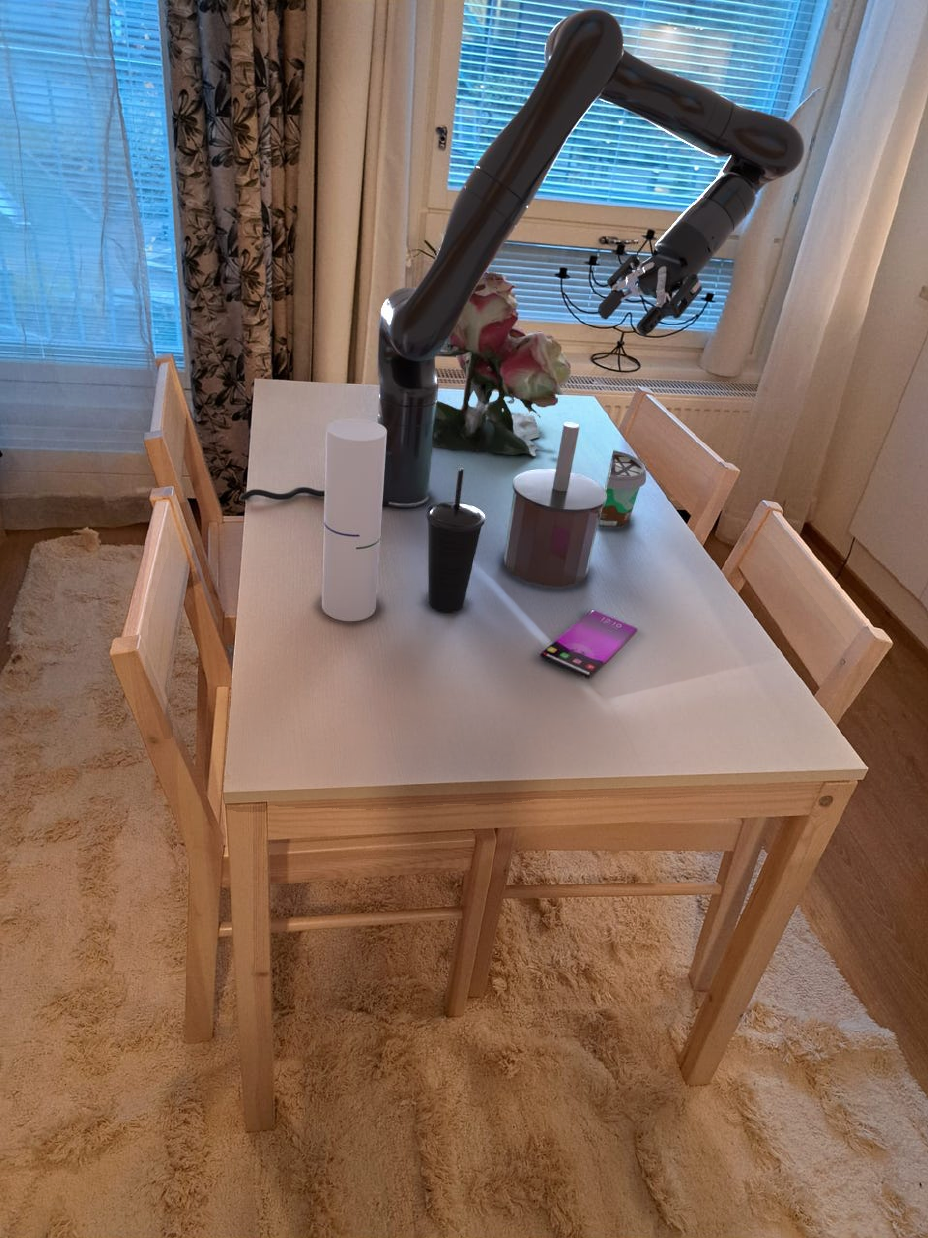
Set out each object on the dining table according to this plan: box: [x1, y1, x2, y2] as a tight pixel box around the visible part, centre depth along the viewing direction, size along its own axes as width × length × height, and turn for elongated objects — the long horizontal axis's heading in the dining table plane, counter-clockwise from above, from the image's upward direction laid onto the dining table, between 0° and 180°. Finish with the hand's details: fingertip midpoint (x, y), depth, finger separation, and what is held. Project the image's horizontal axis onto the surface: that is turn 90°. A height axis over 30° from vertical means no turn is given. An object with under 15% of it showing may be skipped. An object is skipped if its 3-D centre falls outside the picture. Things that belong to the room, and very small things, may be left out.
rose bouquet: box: [433, 271, 572, 457], centre depth 170 cm, size 26×29×30 cm
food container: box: [598, 449, 647, 528], centre depth 147 cm, size 12×6×10 cm, turn 168°
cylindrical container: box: [321, 417, 387, 622], centre depth 111 cm, size 7×7×25 cm
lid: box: [512, 421, 607, 513], centre depth 123 cm, size 14×14×11 cm
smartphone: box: [539, 609, 638, 679], centre depth 115 cm, size 7×15×1 cm, turn 146°
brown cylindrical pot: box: [503, 491, 602, 588], centre depth 129 cm, size 13×13×12 cm
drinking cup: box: [425, 467, 486, 614], centre depth 115 cm, size 8×8×20 cm
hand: (620, 323), depth 129 cm, fingers open, 8 cm apart
